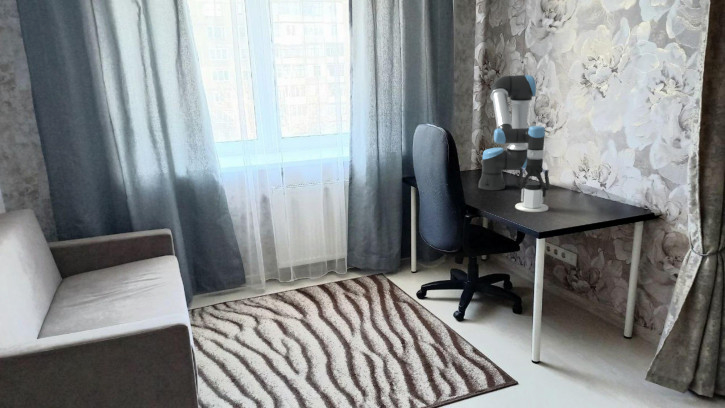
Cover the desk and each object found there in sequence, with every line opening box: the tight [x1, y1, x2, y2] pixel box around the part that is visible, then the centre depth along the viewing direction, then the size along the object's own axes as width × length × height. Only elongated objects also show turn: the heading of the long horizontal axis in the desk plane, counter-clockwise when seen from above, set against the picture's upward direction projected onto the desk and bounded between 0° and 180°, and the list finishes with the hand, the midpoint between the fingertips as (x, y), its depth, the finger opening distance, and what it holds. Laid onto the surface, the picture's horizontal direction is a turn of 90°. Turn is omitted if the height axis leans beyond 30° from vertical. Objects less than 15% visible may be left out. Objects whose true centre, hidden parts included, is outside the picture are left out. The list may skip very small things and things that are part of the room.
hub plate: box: [514, 202, 549, 213], centre depth 250 cm, size 16×16×1 cm
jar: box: [522, 181, 542, 209], centre depth 249 cm, size 9×8×12 cm
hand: (531, 201), depth 250 cm, fingers open, 9 cm apart
